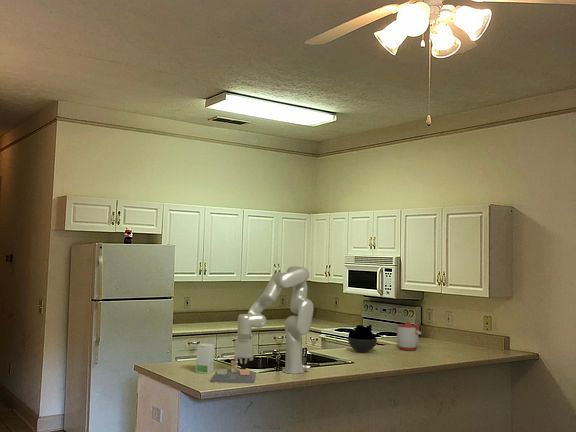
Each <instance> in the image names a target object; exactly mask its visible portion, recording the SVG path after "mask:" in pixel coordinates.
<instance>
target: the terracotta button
mask: <svg viewBox="0 0 576 432" xmlns="http://www.w3.org/2000/svg"><path fill="white" fill-rule="evenodd" d="M239 372H240V375H250V372H251V368H250V369H247V368H246V369H241V368H240V370H239Z"/></svg>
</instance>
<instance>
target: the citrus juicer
mask: <svg viewBox="0 0 576 432" xmlns="http://www.w3.org/2000/svg"><path fill="white" fill-rule="evenodd" d="M419 335H422V332H421V331H420V326H419V325H417V324H412V323H411V322H409V321H408V320H407V321H406V322H405V323H403V324H402V323H401V324H396V341H397V345H398V349H399V350H401V351H410V352H412V351H416V350H417V348H418V344H419Z"/></svg>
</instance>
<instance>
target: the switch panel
mask: <svg viewBox="0 0 576 432" xmlns="http://www.w3.org/2000/svg"><path fill="white" fill-rule="evenodd" d="M256 375H257V372H256V371H250V375H240V371H237V373H233V372H232V370H230V371H229V370H228V372H227V375H217V370H216V371H215V372H214V373H213V376H212V377H211V383H215V382H222V383H225V384H226V383H227V384H228V383H229V384H235V383H236V384H255V381H256ZM222 383H221V384H222Z"/></svg>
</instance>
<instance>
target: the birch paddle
mask: <svg viewBox="0 0 576 432" xmlns="http://www.w3.org/2000/svg"><path fill="white" fill-rule="evenodd" d="M230 363H231V371H232V372H233V373H237V372H238V368H239V367H238V366H239V365H238V363H239V361H238V360H234V359H232V360H230Z"/></svg>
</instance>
